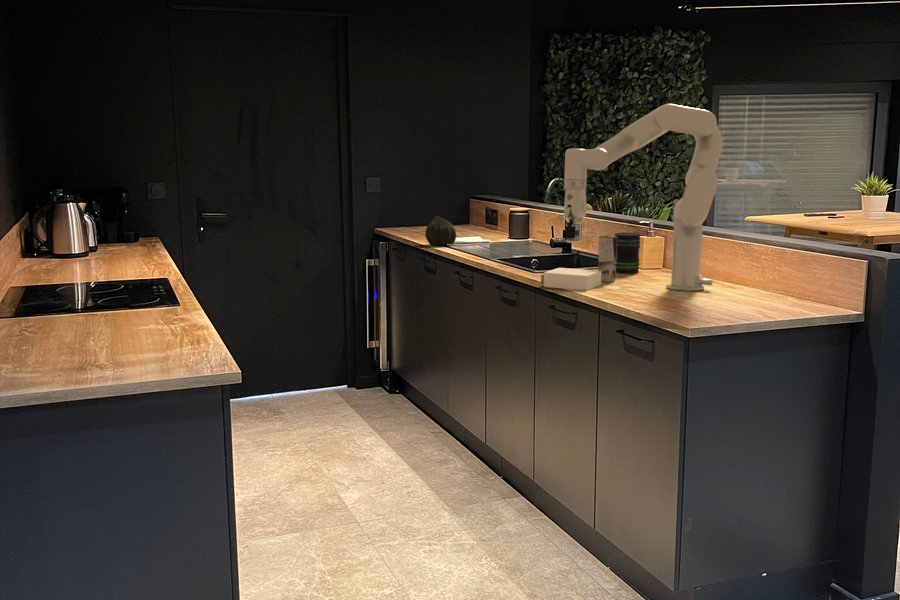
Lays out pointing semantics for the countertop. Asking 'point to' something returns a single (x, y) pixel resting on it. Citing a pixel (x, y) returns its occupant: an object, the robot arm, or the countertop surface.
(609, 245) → the coffee box
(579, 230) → the pill bottle
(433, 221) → the squash
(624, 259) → the storage jar
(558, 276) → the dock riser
